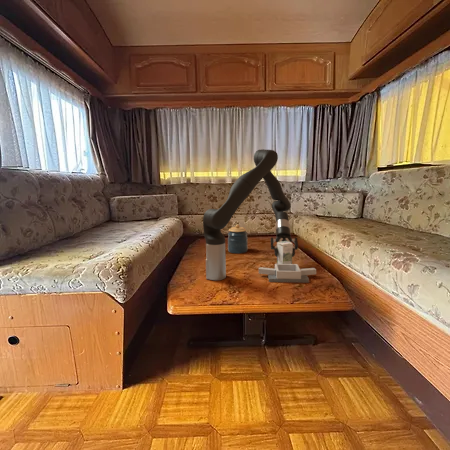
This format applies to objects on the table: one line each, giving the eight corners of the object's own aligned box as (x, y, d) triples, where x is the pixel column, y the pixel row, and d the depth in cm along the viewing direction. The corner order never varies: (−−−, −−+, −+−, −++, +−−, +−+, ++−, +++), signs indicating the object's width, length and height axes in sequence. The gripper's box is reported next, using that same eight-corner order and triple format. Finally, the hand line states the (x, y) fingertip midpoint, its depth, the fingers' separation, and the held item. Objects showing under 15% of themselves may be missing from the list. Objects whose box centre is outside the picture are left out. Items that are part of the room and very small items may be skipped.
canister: (239, 247, 191) (238, 222, 188) (251, 251, 181) (251, 224, 178) (223, 250, 184) (223, 224, 181) (236, 255, 173) (235, 227, 170)
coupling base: (258, 281, 129) (258, 271, 128) (258, 272, 141) (258, 263, 140) (319, 282, 127) (319, 272, 126) (313, 273, 138) (314, 263, 138)
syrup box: (285, 266, 149) (286, 240, 147) (292, 270, 144) (292, 242, 141) (276, 268, 147) (276, 241, 145) (282, 271, 142) (283, 244, 139)
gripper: (269, 225, 150) (271, 252, 140) (297, 225, 148) (300, 252, 139) (269, 233, 156) (270, 259, 147) (295, 233, 155) (298, 259, 145)
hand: (285, 256), depth 143 cm, fingers closed on syrup box, 7 cm apart
